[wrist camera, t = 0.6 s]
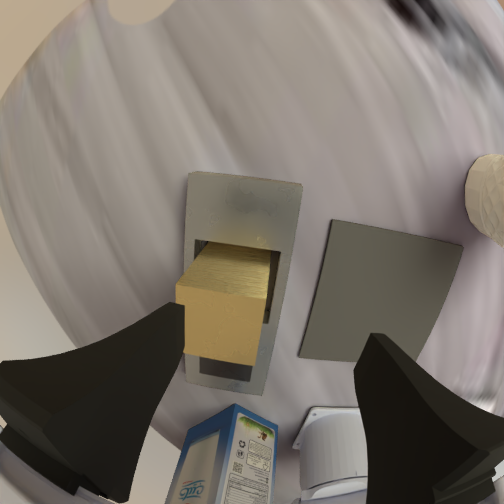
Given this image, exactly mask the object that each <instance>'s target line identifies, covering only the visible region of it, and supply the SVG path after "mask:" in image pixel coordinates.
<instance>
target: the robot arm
mask: <svg viewBox="0 0 504 504" xmlns="http://www.w3.org/2000/svg"><path fill="white" fill-rule="evenodd" d="M184 348H185V305H181V304H177V303H172V302H169V303H167V304H166V305H164V306H162V307H161V308H159V309H157V310H156V311H154V312H153V313H151V314H149V315H148V316H146V317H144V318H143V319H141V320H139V321H138V322H136V323H134V324H132V325H131V326H129V327H127V328H125V329H123V330H121V331H119V332H117V333H115V334H113V335H111V336H109V337H107V338H105V339H103V340H100V341H98V342H95V343H93V344H90V345H88V346H85V347H82V348H78V349H75V350H72V351H68V352H65V353H61V354H57V355H52V356H48V357H42V358H35V359H27V360H12V361H11V360H10V361H2V362H1V363H0V415H1V417H2V418H3V419H4V420H5V422H6V423H7V425H6V426H5V428H4V429H3V428H2V426H1V425H0V504H114V503H112V502H110V501H107V500H106V499H110V500H113V501H115V502H117V503H124V502H127V501H128V500H129V494H130V491H131V486H132V482H133V477H134V473H135V470H136V466H137V463H138V459H139V455H140V452H141V449H142V446H143V443H144V440H145V437H146V434H147V431H148V428H149V425H150V423H151V420H152V417H153V415H154V413H155V410H156V408H157V406H158V404H159V402H160V401H161V399H162V397H163V395H164V393H165V391H166V389H167V387H168V385H169V383H170V381H171V379H172V377H173V375H174V373H175V371H176V369H177V367H178V365H179V362H180V359H181V356H182V353H183V350H184ZM354 383H355V392H356V396H357V401H358V405H359V408H328V407H313V408H311V410H310V412H309V414H308V416H307V418H306V420H305V422H304V424H303V426H302V428H301V430H300V432H299V434H298V436H297V438H296V440H295V441H294V443H293V445H292V448H293V449H300V487H301V490H302V491H301V498H297V499H295V500H294V501H293V503H292V504H504V475H503V476H502V477H500V478H499V479H497V480H496V481H494V482H493V481H492V477H493V476H495V474H496V471H495V469H494V467H496V466H497V465H498V464H499V463H500V462H501V461H503V460H504V418H503V417H500V416H497V415H494V414H492V413H489V412H487V411H485V410H482V409H480V408H478V407H476V406H474V405H472V404H471V403H469V402H467V401H466V400H464V399H462V398H460V397H459V396H457V395H456V394H454V393H453V392H451V391H450V390H449V389H447V388H446V387H444V386H443V385H442V384H440V383H439V382H438V381H437V380H435V379H434V378H433V377H432V376H431V375H429V374H428V373H427V372H426V371H425V370H424V369H423V368H421V367H420V366H419V365H418V364H417V363H416V362H415V361H414V360H413V359H412V358H411V357H410V356H409V355H407V354H406V353H405V352H404V351H403V350H402V349H401V348H400V347H399V346H398V345H397V344H396V343H395V342H393V341H392V340H391V339H390V338H389V337H388V336H386V335H385V334H383V333H370V335H369V337H368V340H367V342H366V344H365V346H364V349H363V351H362V353H361V355H360V357H359V359H358V362H357V364H356V366H355V368H354ZM99 495H100V496H102V497H104V498H106V499H103V498H101V497H99Z"/></svg>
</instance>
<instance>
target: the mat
mask: <svg viewBox="0 0 504 504" xmlns="http://www.w3.org/2000/svg"><path fill="white" fill-rule="evenodd" d="M463 248H464V247H463V246H460V245H456V244H452V243H447V242H443V241H439V240H434V239H430V238H426V237H421V236H417V235H412V234H407V233H402V232H398V231H393V230H388V229H383V228H378V227H373V226H367V225H362V224H357V223H351V222H346V221H340V220H334V219H332V223H331V228H330V233H329V238H328V242H327V247H326V252H325V256H324V261H323V265H322V270H321V274H320V278H319V282H318V286H317V290H316V294H315V298H314V302H313V306H312V310H311V314H310V318H309V321H308V325H307V328H306V332H305V336H304V339H303V343H302V346H301V349H300V353H299V358H306V359H318V360H331V361H347V362H358V359H359V357H360V355H361V353H362V351H363V349H364V346H365V344H366V342H367V340H368V337H369V335H370V333H383V334H385V335H386V336H388V337H389V338H390V339H391V340H392V341H393V342H395V343H396V344H397V345H398V346H399V347H400V348H401V349H402V350H403V351H404V352H405V353H406V354H407V355H409V356H410V357H411V358H412V359H413V360H414V361H415V362H416V360H417V358H418V356H419V354H420V352H421V351H422V349H423V347H424V345H425V343H426V341H427V339H428V337H429V335H430V333H431V331H432V329H433V327H434V325H435V322H436V320H437V318H438V316H439V314H440V311H441V309H442V307H443V304H444V302H445V299H446V297H447V294H448V292H449V289H450V287H451V284H452V281H453V279H454V276H455V273H456V270H457V267H458V264H459V261H460V258H461V255H462V252H463Z"/></svg>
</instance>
